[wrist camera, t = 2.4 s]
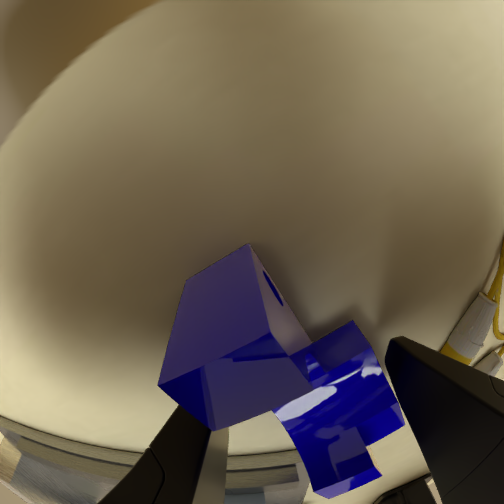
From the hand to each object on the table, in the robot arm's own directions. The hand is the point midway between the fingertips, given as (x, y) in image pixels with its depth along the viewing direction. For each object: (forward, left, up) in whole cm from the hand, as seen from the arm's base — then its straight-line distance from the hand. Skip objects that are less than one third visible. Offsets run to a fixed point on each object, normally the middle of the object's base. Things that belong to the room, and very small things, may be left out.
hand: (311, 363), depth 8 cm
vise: (-14, +9, -1) cm, 17 cm away
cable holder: (0, 0, -1) cm, 1 cm away
